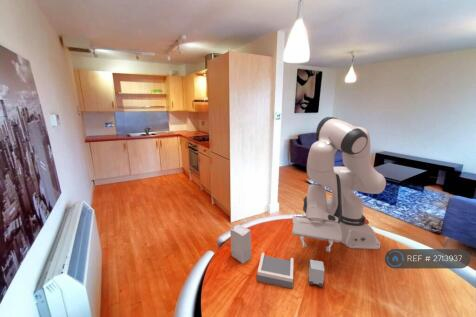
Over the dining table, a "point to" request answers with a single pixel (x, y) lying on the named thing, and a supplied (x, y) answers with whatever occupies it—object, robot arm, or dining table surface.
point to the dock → (275, 271)
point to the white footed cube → (316, 272)
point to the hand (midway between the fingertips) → (316, 249)
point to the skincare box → (241, 243)
